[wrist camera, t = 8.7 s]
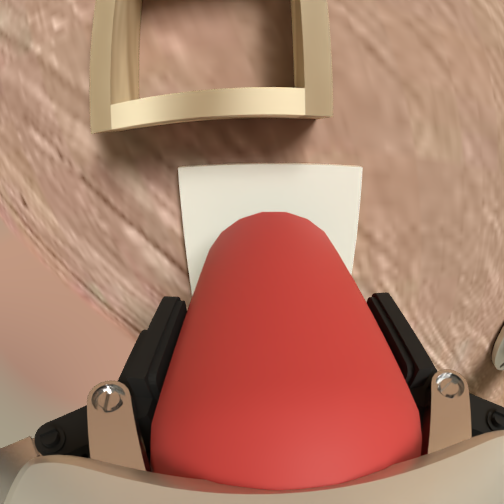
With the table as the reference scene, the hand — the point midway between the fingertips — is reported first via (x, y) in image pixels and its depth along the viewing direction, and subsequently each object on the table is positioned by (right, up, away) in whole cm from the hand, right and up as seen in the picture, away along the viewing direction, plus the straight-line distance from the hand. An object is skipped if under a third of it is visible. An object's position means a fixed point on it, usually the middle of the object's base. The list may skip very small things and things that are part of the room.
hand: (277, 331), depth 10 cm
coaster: (0, +3, +7) cm, 8 cm away
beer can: (0, +2, +4) cm, 5 cm away
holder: (-3, +15, +2) cm, 15 cm away
